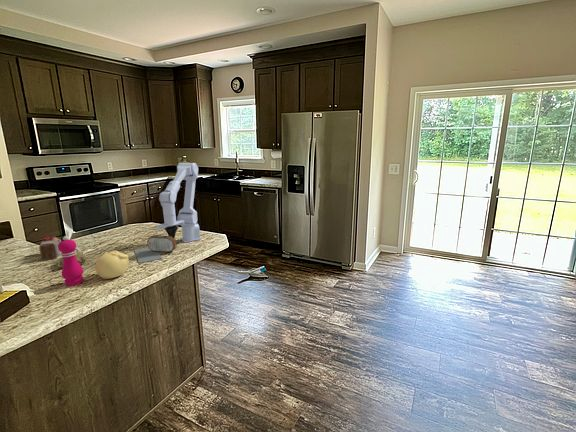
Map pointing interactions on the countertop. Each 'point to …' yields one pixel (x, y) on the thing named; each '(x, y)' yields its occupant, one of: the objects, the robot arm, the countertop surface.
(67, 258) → the pepper mill
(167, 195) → the robot arm
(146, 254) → the mat
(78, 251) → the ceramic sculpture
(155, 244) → the tin
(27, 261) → the countertop surface
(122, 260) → the sculpture
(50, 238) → the food item
